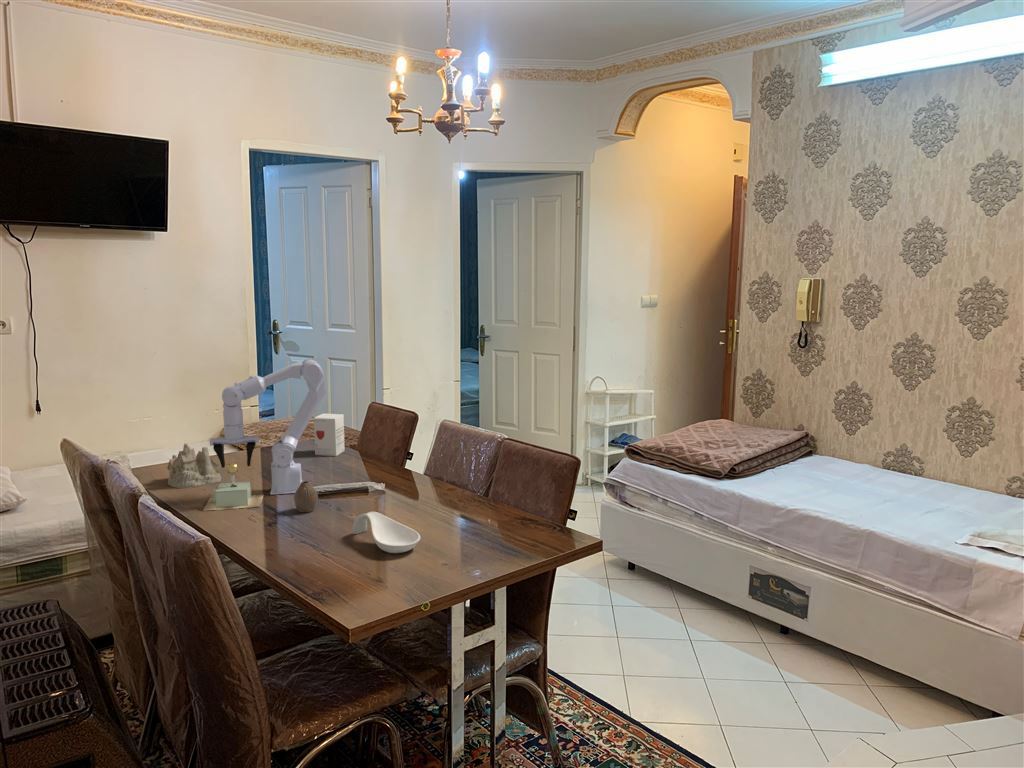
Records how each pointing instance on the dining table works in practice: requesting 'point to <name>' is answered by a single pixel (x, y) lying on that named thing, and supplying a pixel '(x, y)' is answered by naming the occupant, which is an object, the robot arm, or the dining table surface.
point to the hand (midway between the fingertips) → (236, 466)
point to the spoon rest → (387, 532)
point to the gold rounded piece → (232, 471)
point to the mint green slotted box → (232, 494)
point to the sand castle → (192, 469)
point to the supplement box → (329, 434)
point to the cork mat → (254, 502)
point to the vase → (305, 497)
